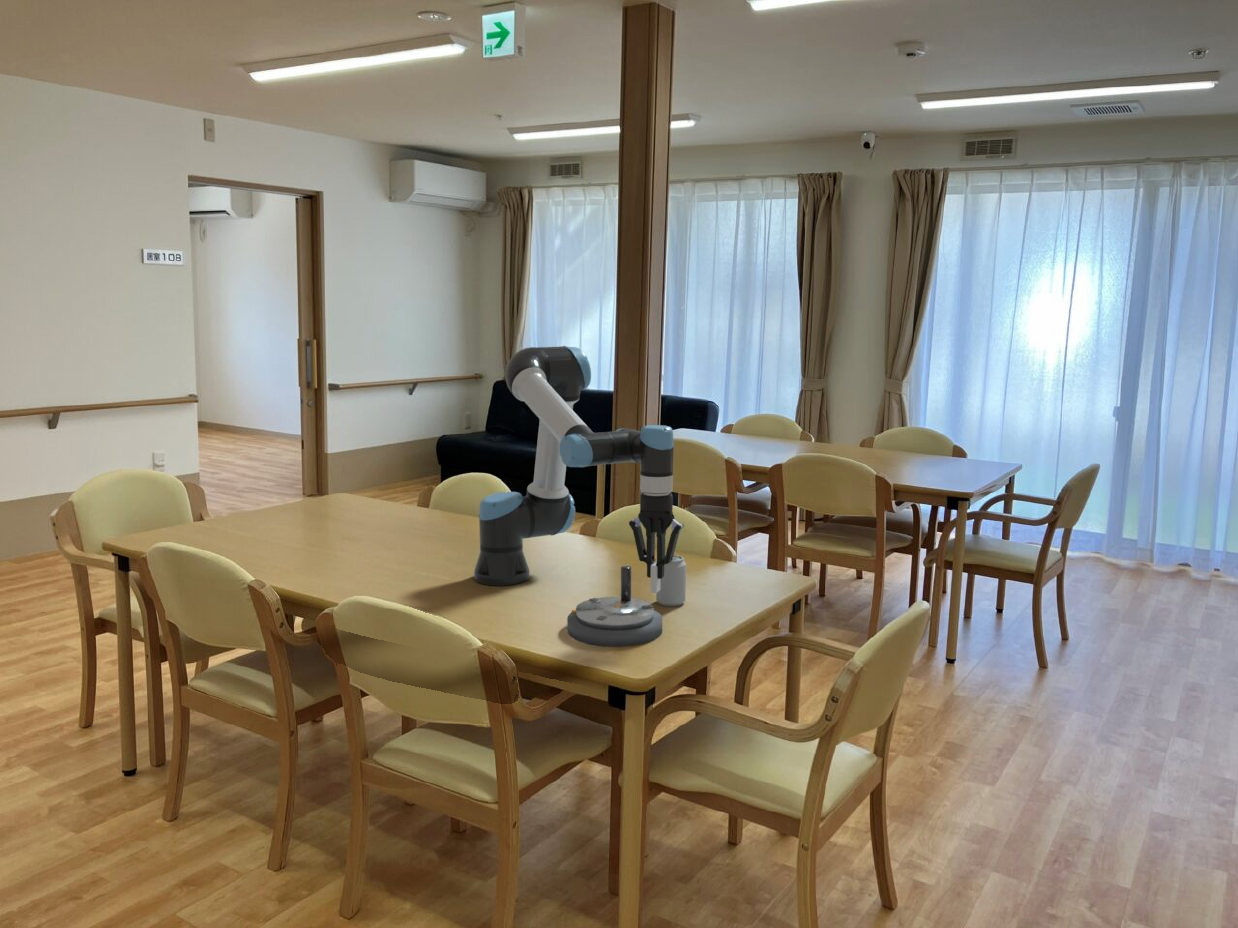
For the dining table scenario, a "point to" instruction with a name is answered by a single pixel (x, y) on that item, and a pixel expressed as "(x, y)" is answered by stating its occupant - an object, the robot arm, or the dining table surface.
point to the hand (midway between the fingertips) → (655, 591)
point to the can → (673, 583)
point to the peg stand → (616, 609)
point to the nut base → (614, 633)
